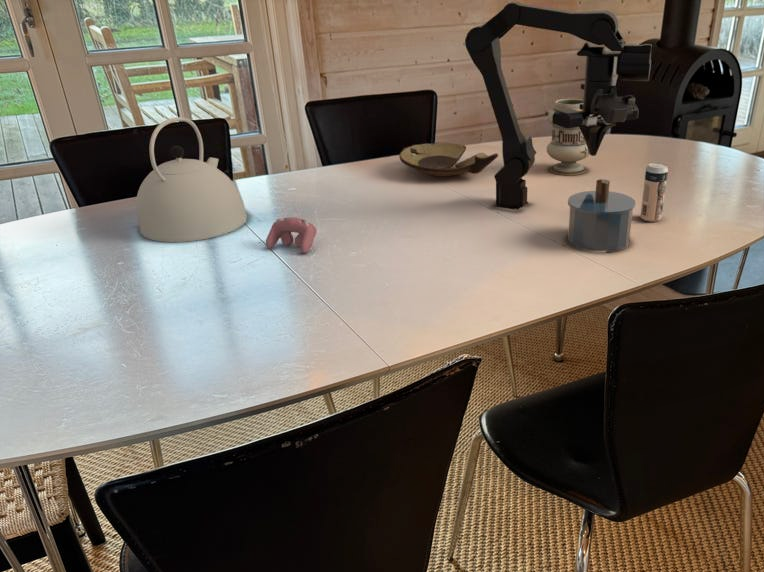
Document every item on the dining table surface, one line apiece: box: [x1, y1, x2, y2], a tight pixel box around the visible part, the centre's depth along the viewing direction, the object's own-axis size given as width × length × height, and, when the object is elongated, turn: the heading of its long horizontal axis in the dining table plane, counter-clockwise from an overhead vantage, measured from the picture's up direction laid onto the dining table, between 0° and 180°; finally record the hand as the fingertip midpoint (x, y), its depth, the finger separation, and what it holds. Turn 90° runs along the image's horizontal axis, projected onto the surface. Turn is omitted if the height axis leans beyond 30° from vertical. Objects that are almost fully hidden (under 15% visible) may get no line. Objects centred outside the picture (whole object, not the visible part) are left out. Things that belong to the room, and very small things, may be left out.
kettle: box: [135, 116, 248, 243], centre depth 145 cm, size 25×23×23 cm
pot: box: [567, 206, 634, 254], centre depth 136 cm, size 12×12×8 cm
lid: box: [567, 178, 636, 215], centre depth 133 cm, size 13×13×5 cm
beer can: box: [639, 162, 669, 223], centre depth 146 cm, size 5×5×12 cm
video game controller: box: [265, 216, 317, 254], centre depth 136 cm, size 10×5×7 cm, turn 71°
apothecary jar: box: [546, 98, 591, 176], centre depth 178 cm, size 12×12×18 cm
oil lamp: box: [398, 142, 499, 177], centre depth 179 cm, size 22×30×8 cm
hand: (592, 155), depth 146 cm, fingers closed
